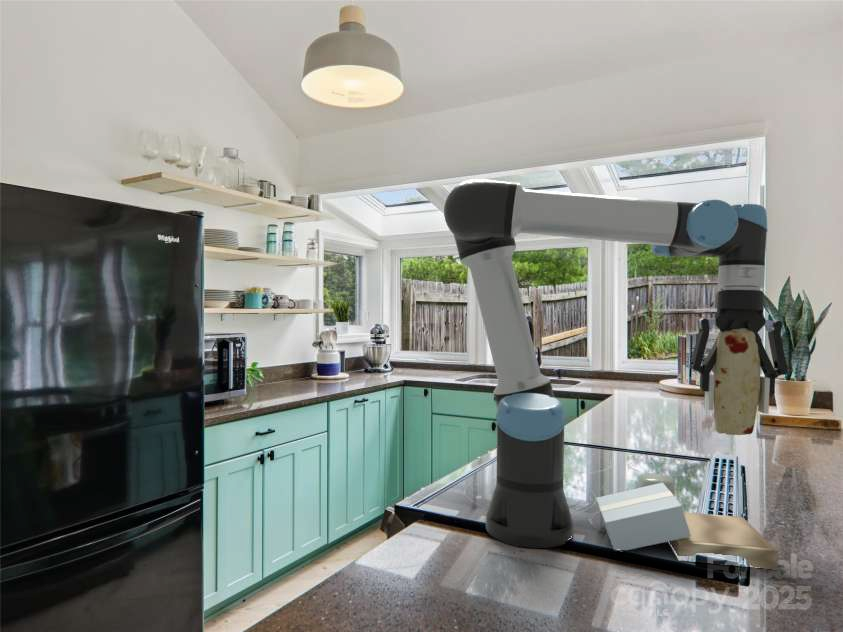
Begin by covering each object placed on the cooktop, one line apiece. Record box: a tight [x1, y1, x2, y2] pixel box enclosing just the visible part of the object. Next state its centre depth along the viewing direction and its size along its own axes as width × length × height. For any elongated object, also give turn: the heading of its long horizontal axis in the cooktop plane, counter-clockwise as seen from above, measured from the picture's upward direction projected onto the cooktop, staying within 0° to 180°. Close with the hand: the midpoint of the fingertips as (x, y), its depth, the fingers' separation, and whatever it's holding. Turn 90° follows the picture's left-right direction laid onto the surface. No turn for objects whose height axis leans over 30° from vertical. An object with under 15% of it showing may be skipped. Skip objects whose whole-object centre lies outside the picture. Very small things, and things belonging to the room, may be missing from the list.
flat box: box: [595, 483, 691, 551], centre depth 94 cm, size 12×12×5 cm
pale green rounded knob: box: [638, 472, 676, 498], centre depth 106 cm, size 6×6×7 cm
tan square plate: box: [669, 511, 778, 571], centre depth 92 cm, size 14×14×3 cm
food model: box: [713, 328, 761, 436], centre depth 103 cm, size 10×7×20 cm
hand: (735, 410), depth 103 cm, fingers closed on food model, 9 cm apart
